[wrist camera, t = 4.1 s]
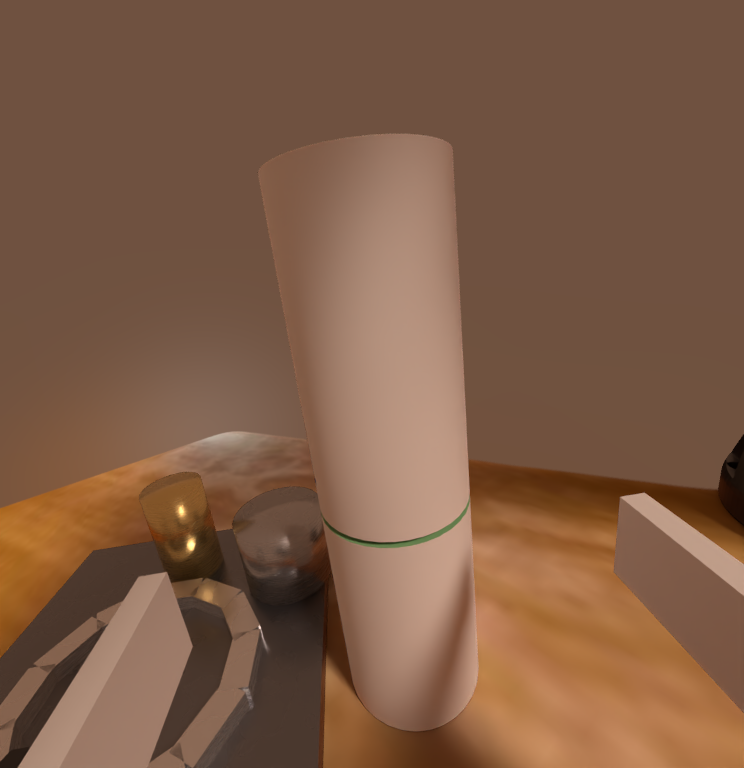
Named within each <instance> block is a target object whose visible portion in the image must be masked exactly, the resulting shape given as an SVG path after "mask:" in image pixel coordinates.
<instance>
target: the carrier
mask: <svg viewBox="0 0 744 768" xmlns="http://www.w3.org/2000/svg"><path fill="white" fill-rule="evenodd" d="M139 500H140V503H141V506H142V509H143V512H144V515H145V518H146V520H147V523H148V526H149V529H150V532H151V535H152V538H153V541H152V542H146V543H139V544H133V545H127V546H120V547H114V548H107V549H101V550H95V551H93V552H92V553H91V554H90V555H89V556H88V557H87V559H86V560H85V561H84V562H83V563H82V564H81V566H80V567H79V568H78V569H77V570H76V571H75V572H74V574H73V575H72V576H71V577H70V578H69V579H68V581H67V582H66V583H65V584H64V585H63V586H62V588H61V589H60V590H59V591H58V592H57V593H56V595H55V596H54V597H53V598H52V599H51V600H50V602H49V603H48V604H47V605H46V606H45V607H44V608H43V610H42V611H41V612H40V613H39V614H38V615H37V617H36V618H35V619H34V620H33V621H32V622H31V624H30V625H29V626H28V627H27V628H26V629H25V631H24V632H23V633H22V634H21V635H20V636H19V638H18V639H17V640H16V641H15V642H14V643H13V644H12V646H11V647H10V648H9V649H8V650H7V651H6V653H5V654H4V655H3V656H2V657H1V658H0V761H1V760H2V759H3V758H4V757H5V756H6V755H7V754H8V753H9V752H10V751H11V750H13V749H19V748H24V747H30V746H32V744H33V743H34V741H35V740H36V738H37V736H38V735H39V733H40V732H41V730H42V728H43V727H44V725H45V724H46V722H47V721H48V719H49V717H50V716H51V714H52V713H53V711H54V709H55V708H56V706H57V705H58V703H59V702H60V700H61V698H62V697H63V695H64V694H65V692H66V691H67V689H68V687H69V686H70V684H71V683H72V681H73V679H74V678H75V676H76V675H77V673H78V672H79V670H80V668H81V667H82V665H83V664H84V662H85V661H86V659H87V657H88V656H89V654H90V653H91V651H92V649H93V648H94V646H95V645H96V643H97V642H98V640H99V638H100V637H101V635H102V634H103V632H104V631H105V629H106V627H107V626H108V624H109V623H110V621H111V619H112V618H113V616H114V615H115V613H116V612H117V610H118V608H119V607H120V605H121V604H122V602H123V601H124V599H125V597H126V596H127V594H128V593H129V591H130V589H131V588H132V586H133V585H134V583H135V582H136V580H137V578H138V577H140V576H146V575H152V574H158V573H164V572H167V573H168V576H169V579H170V582H171V585H172V588H173V591H174V594H175V597H176V599H177V602H178V605H179V608H180V611H181V614H182V617H183V620H184V622H185V625H186V628H187V631H188V634H189V637H190V640H191V643H192V646H193V647H192V650H191V652H190V655H189V658H188V660H187V663H186V666H185V668H184V671H183V674H182V676H181V679H180V682H179V684H178V687H177V690H176V692H175V695H174V698H173V701H172V703H171V706H170V709H169V711H168V714H167V717H166V719H165V722H164V725H163V727H162V730H161V733H160V735H159V738H158V741H157V743H156V746H155V749H154V751H153V754H152V757H151V759H150V762H149V765H148V767H147V768H323V748H324V712H325V675H326V639H327V602H328V577H329V575H330V573H331V570H332V569H331V563H330V558H329V553H328V547H327V542H326V537H325V531H324V526H323V521H322V515H321V510H320V505H319V499H318V494H317V493H316V492H314V491H313V490H311V489H308V488H304V487H284V488H278V489H274V490H271V491H268V492H265V493H263V494H261V495H259V496H257V497H255V498H253V499H252V500H250V501H249V502H247V503H246V504H245V505H244V506H243V507H241V508H240V510H239V511H238V512H237V513H236V515H235V517H234V519H233V524H232V526H233V529H229V530H222V531H216V529H215V525H214V522H213V518H212V515H211V511H210V508H209V504H208V501H207V497H206V494H205V490H204V487H203V483H202V480H201V477H200V475H199V474H198V473H195V472H182V473H176V474H172V475H169V476H166V477H164V478H161V479H159V480H157V481H155V482H153V483H152V484H150V485H149V486H147V487H146V488H145V489H144V490H143V491H142V492H141V493H140V495H139Z"/></svg>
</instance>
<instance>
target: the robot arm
mask: <svg viewBox="0 0 744 768" xmlns="http://www.w3.org/2000/svg"><path fill="white" fill-rule="evenodd" d="M718 492H719V497H720V499H721V501H722V503H723V504H724V506H725V507H726V509H727V510H728V511H729V512H730V513H731V514H732V515H733V516H734V517H735V518H736V519H737V520H738V521H739V522H741V523H742V524H743V525H744V435H743V436H742V437H741V439H740V440H739V442H738V443H737V445H736V446H735V447H734V449H733V451H732V452H731V453H730V454H729V455H728V457H727V458H726V460H725V462H724V464H723V466H722V470H721V476H720V482H719V487H718ZM614 573H615V574H616V575H617V576H618V577H619V578H620V579H621V580H622V581H623V582H624V584H625V585H626V586H627V587H628V588H629V589H630V590H631V591H632V592H633V593H634V594H635V596H636V597H637V598H638V599H639V600H640V601H641V602H642V603H643V604H644V605H645V606H646V607H647V609H648V610H649V611H650V612H651V613H652V614H653V615H654V616H655V617H656V618H657V619H658V620H659V622H660V623H661V624H662V625H663V626H664V627H665V628H666V629H667V630H668V631H669V632H670V634H671V635H672V636H673V637H674V638H675V639H676V640H677V641H678V642H679V643H680V644H681V645H682V647H683V648H684V649H685V650H686V651H687V652H688V653H689V654H690V655H691V656H692V657H693V658H694V660H695V661H696V662H697V663H698V664H699V665H700V666H701V667H702V668H703V669H704V670H705V672H706V673H707V674H708V675H709V676H710V677H711V678H712V679H713V680H714V681H715V682H716V683H717V685H718V686H719V687H720V688H721V689H722V690H723V691H724V692H725V693H726V694H727V695H728V696H729V698H730V699H731V700H732V701H733V702H734V703H735V704H736V705H737V706H738V707H739V708H740V710H741V711H742V712H743V713H744V564H743V563H741V562H740V561H738V560H737V559H736V558H734V557H733V556H731V555H730V554H729V553H727V552H726V551H725V550H723V549H722V548H720V547H719V546H718V545H716V544H715V543H713V542H712V541H711V540H709V539H708V538H707V537H705V536H704V535H702V534H701V533H700V532H698V531H697V530H695V529H694V528H693V527H691V526H690V525H689V524H687V523H686V522H684V521H683V520H682V519H680V518H679V517H678V516H676V515H675V514H673V513H672V512H671V511H669V510H668V509H666V508H665V507H664V506H662V505H661V504H660V503H658V502H657V501H655V500H654V499H653V498H651V497H650V496H648V495H647V494H646V493H640V494H634V495H628V496H622V497H620V503H619V515H618V527H617V538H616V550H615V562H614ZM192 647H193V646H192V643H191V640H190V637H189V634H188V631H187V628H186V625H185V622H184V620H183V617H182V614H181V611H180V608H179V605H178V602H177V599H176V597H175V594H174V591H173V588H172V585H171V582H170V579H169V576H168V573H167V572H164V573H158V574H152V575H146V576H140V577H138V578H137V580H136V582H135V583H134V585H133V586H132V588H131V589H130V591H129V593H128V594H127V596H126V597H125V599H124V601H123V602H122V604H121V605H120V607H119V608H118V610H117V612H116V613H115V615H114V616H113V618H112V619H111V621H110V623H109V624H108V626H107V627H106V629H105V631H104V632H103V634H102V635H101V637H100V638H99V640H98V642H97V643H96V645H95V646H94V648H93V649H92V651H91V653H90V654H89V656H88V657H87V659H86V661H85V662H84V664H83V665H82V667H81V668H80V670H79V672H78V673H77V675H76V676H75V678H74V679H73V681H72V683H71V684H70V686H69V687H68V689H67V691H66V692H65V694H64V695H63V697H62V698H61V700H60V702H59V703H58V705H57V706H56V708H55V709H54V711H53V713H52V714H51V716H50V717H49V719H48V721H47V722H46V724H45V725H44V727H43V728H42V730H41V732H40V733H39V735H38V736H37V738H36V740H35V741H34V743H33V744H32V746H30V747H24V748H19V749H13V750H11V751H10V752H9V753H8V754H7V755H6V756H5V757H4V758H3V759H2V760H1V761H0V768H147V767H148V765H149V762H150V759H151V757H152V754H153V751H154V749H155V746H156V743H157V741H158V738H159V735H160V733H161V730H162V727H163V725H164V722H165V719H166V717H167V714H168V711H169V709H170V706H171V703H172V701H173V698H174V695H175V692H176V690H177V687H178V684H179V682H180V679H181V676H182V674H183V671H184V668H185V666H186V663H187V660H188V658H189V655H190V652H191V650H192Z"/></svg>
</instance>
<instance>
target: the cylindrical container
mask: <svg viewBox="0 0 744 768" xmlns="http://www.w3.org/2000/svg"><path fill="white" fill-rule="evenodd" d="M453 168H454V167H453V149H452V147H451V145H450V144H449V143H448V142H446V141H444V140H442V139H439V138H435V137H431V136H425V135H415V134H380V135H379V134H378V135H364V136H357V137H349V138H342V139H336V140H331V141H326V142H320V143H316V144H313V145H309V146H305V147H301V148H298V149H295V150H292V151H289V152H287V153H284V154H281V155H279V156H277V157H275V158H273V159H271V160H269V161H267V163H265V164H264V165H263V166H261V167H260V169H259V171H258V176H259V181H260V187H261V192H262V198H263V203H264V208H265V214H266V219H267V225H268V230H269V235H270V241H271V246H272V251H273V257H274V262H275V267H276V273H277V279H278V284H279V289H280V295H281V300H282V305H283V310H284V316H285V321H286V327H287V333H288V338H289V343H290V348H291V354H292V359H293V365H294V370H295V375H296V381H297V386H298V392H299V397H300V402H301V408H302V413H303V419H304V424H305V429H306V434H307V440H308V446H309V451H310V457H311V462H312V467H313V473H314V477H315V483H316V489H317V494H318V499H319V505H320V510H321V515H322V521H323V526H324V531H325V537H326V542H327V547H328V553H329V558H330V563H331V569H332V574H333V580H334V585H335V590H336V596H337V601H338V606H339V612H340V617H341V622H342V628H343V633H344V638H345V644H346V649H347V654H348V660H349V665H350V670H351V676H352V681H353V685H354V688H355V690H356V693H357V695H358V697H359V699H360V700H361V702H362V703H363V705H364V706H365V708H366V709H367V710H368V711H369V712H370V713H371V714H372V715H373V716H374V717H375V718H377V719H379V720H380V721H382V722H383V723H385V724H387V725H388V726H391V727H394V728H397V729H400V730H405V731H416V732H417V731H425V730H431V729H434V728H437V727H440V726H443V725H444V724H446V723H448V722H449V721H451V720H452V719H454V718H455V717H456V716H457V715H458V714H459V713H460V712H461V711H462V710H463V709H464V708H465V707H466V706H467V704H468V702H469V701H470V699H471V697H472V696H473V693H474V690H475V687H476V684H477V678H478V649H477V629H476V609H475V589H474V569H473V548H472V528H471V508H470V494H469V493H470V488H469V468H468V448H467V429H466V410H465V409H466V408H465V388H464V368H463V350H462V349H463V348H462V328H461V308H460V288H459V268H458V248H457V228H456V209H455V188H454V169H453Z"/></svg>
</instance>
